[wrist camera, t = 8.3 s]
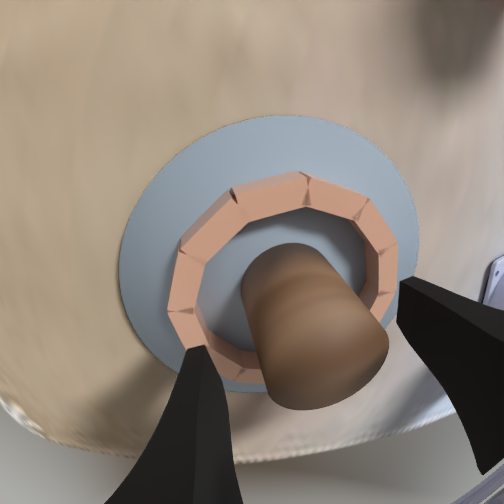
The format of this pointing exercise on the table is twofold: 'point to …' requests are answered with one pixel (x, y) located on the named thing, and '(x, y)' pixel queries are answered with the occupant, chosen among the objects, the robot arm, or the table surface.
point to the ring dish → (260, 233)
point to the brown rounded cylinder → (309, 328)
